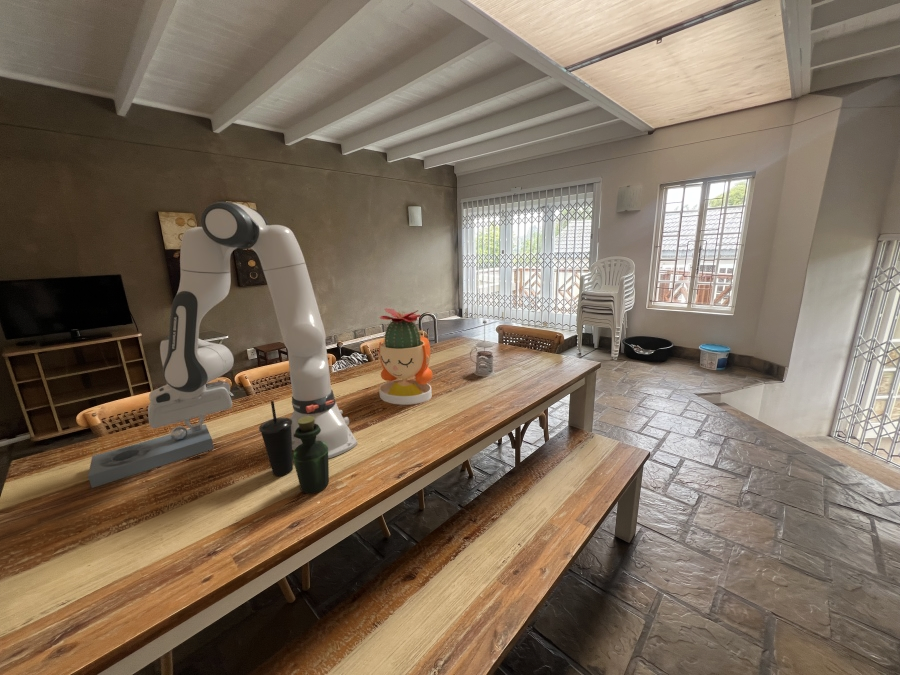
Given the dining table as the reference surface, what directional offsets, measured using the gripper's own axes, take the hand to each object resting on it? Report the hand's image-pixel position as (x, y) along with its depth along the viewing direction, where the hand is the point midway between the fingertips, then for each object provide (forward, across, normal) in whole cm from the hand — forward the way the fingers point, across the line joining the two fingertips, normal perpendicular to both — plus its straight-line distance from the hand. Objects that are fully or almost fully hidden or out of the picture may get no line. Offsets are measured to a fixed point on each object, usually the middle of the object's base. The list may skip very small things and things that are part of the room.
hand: (196, 430), depth 106 cm
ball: (-1, +4, 0) cm, 4 cm away
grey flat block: (+5, +10, 0) cm, 11 cm away
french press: (+4, -108, +17) cm, 109 cm away
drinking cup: (+5, -15, +32) cm, 36 cm away
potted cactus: (+5, -69, +12) cm, 70 cm away
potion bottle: (+5, -19, +44) cm, 48 cm away
